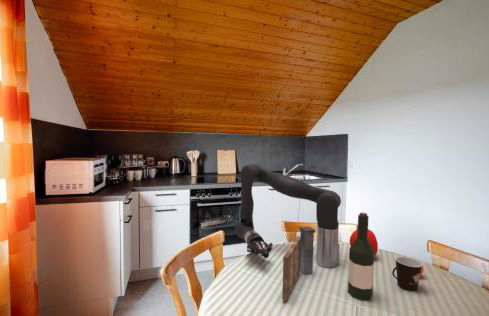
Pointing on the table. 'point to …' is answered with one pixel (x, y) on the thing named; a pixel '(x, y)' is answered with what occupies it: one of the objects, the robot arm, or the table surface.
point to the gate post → (306, 250)
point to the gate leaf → (291, 267)
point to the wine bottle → (361, 263)
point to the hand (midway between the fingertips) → (266, 255)
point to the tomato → (371, 239)
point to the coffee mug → (407, 273)
